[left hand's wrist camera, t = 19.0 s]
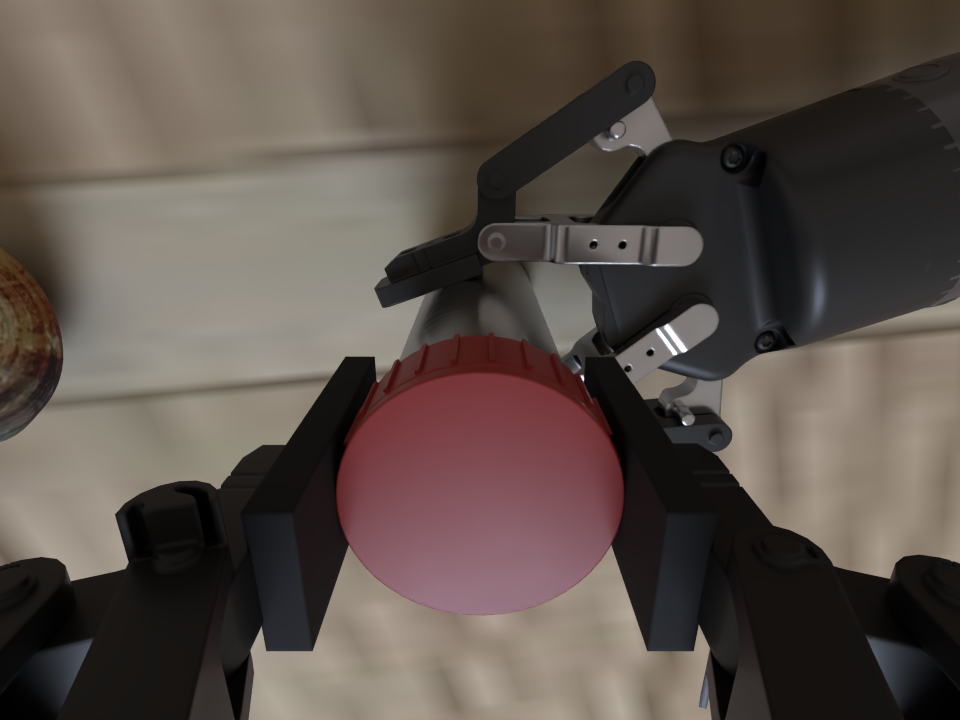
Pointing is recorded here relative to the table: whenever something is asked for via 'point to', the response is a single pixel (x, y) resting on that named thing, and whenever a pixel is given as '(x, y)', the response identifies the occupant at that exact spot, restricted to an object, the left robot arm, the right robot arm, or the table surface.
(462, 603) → the lid
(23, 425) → the seashell
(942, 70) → the right robot arm
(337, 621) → the table surface
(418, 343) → the jar
